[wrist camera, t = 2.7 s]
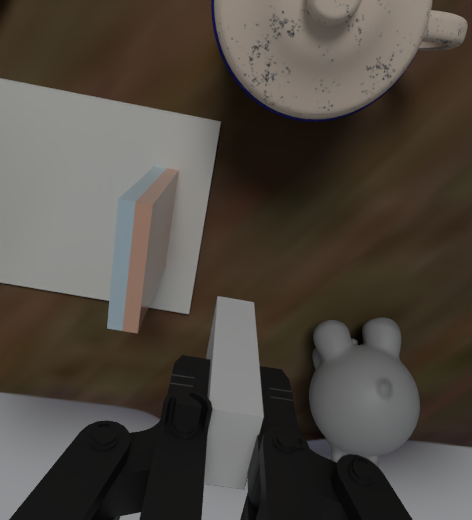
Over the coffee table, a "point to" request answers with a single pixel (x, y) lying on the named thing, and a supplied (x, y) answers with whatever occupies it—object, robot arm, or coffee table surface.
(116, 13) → the coffee table surface
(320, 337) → the chubby cartoon animal
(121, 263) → the tile
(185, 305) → the mat
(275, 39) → the teacup with lid
